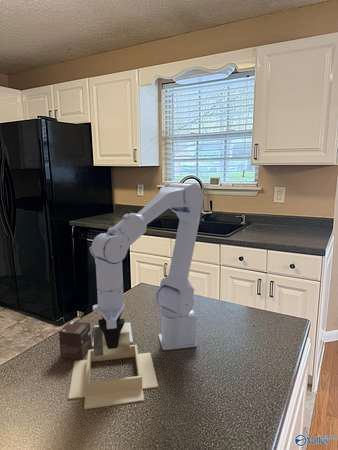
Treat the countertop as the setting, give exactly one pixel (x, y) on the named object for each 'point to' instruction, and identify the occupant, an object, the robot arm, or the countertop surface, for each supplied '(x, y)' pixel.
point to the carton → (112, 381)
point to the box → (75, 340)
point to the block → (101, 345)
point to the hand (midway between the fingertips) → (112, 342)
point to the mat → (129, 333)
